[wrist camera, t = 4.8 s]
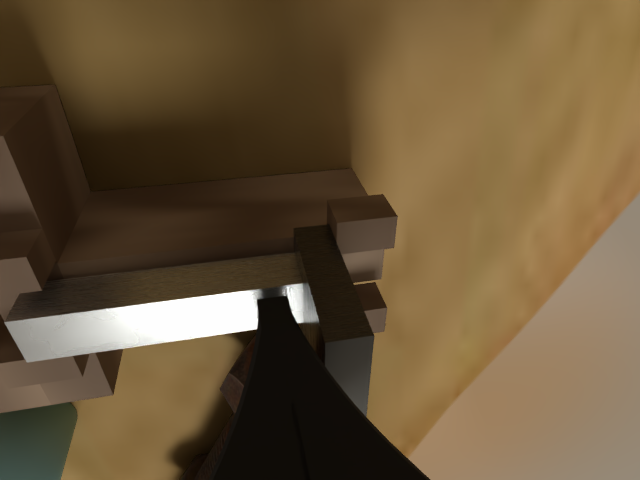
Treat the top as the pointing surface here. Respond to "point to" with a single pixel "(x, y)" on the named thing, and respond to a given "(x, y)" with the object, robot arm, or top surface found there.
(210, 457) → the bolt
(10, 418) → the dowel
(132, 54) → the top surface
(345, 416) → the robot arm
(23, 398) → the mount
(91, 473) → the top surface
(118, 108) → the top surface
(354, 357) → the lock bar
